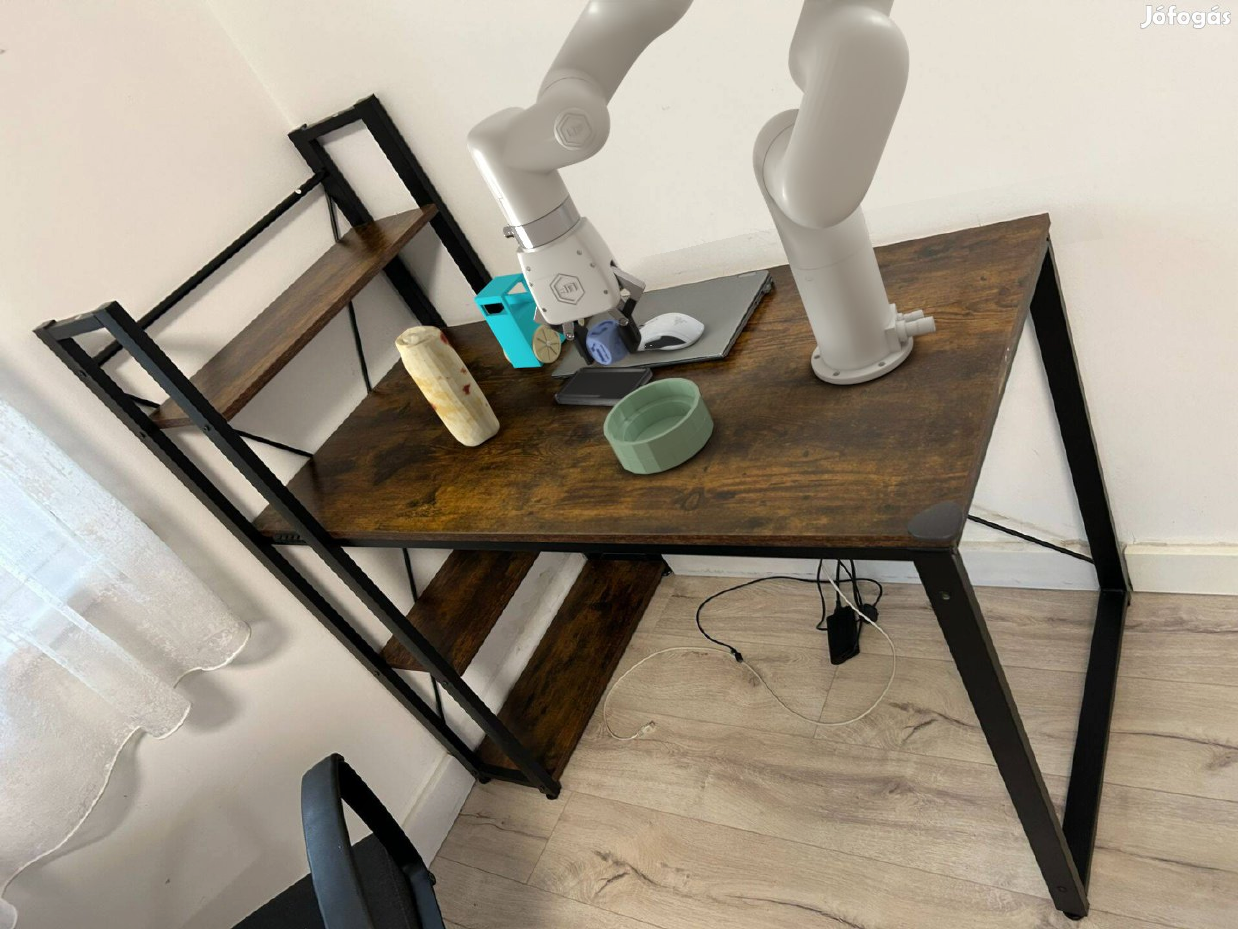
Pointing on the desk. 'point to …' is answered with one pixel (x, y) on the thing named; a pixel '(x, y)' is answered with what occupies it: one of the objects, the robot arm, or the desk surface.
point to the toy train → (519, 323)
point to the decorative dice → (606, 342)
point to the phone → (602, 385)
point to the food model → (447, 384)
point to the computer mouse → (670, 332)
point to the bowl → (658, 425)
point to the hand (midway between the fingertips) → (614, 352)
